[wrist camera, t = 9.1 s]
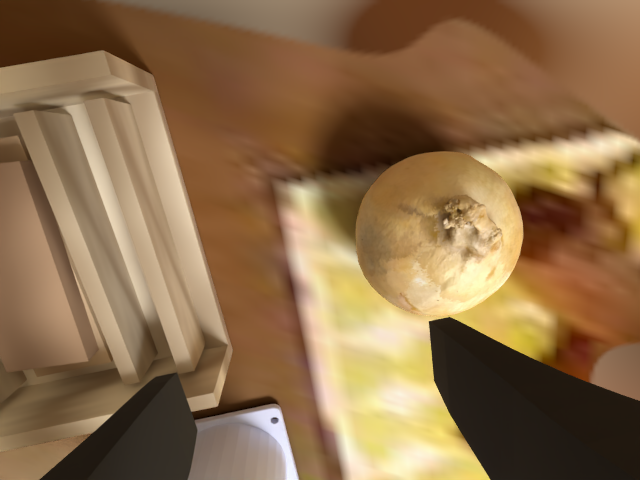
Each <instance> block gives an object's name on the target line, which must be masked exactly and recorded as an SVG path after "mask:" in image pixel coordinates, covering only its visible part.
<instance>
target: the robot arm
mask: <svg viewBox="0 0 640 480" xmlns="http://www.w3.org/2000/svg"><path fill="white" fill-rule="evenodd" d="M429 328H430V339H431V350H432V361H433V372H434V381H435V383H436V385H437V388H438V390H439V392H440V394H441V396H442V398H443V401H444V403H445V405H446V407H447V409H448V411H449V413H450V415H451V417H452V418H453V420H454V421H455V423H456V425H457V426H458V428H459V430H460V431H461V433H462V434H463V436H464V438H465V439H466V441H467V443H468V444H469V446H470V447H471V449H472V451H473V452H474V454H475V455H476V457H477V459H478V460H479V462H480V463H481V465H482V467H483V468H484V470H485V471H486V473H487V475H488V476H489V478H490V479H491V480H640V401H638V400H635V399H632V398H629V397H626V396H623V395H621V394H618V393H615V392H612V391H610V390H607V389H604V388H602V387H599V386H597V385H594V384H591V383H589V382H586V381H583V380H581V379H578V378H576V377H573V376H571V375H568V374H566V373H564V372H561V371H559V370H557V369H555V368H552V367H550V366H548V365H546V364H543V363H541V362H539V361H537V360H534V359H532V358H530V357H528V356H526V355H524V354H522V353H520V352H518V351H516V350H514V349H512V348H510V347H508V346H506V345H504V344H502V343H500V342H498V341H496V340H494V339H492V338H490V337H488V336H486V335H484V334H482V333H480V332H478V331H476V330H475V329H473V328H471V327H469V326H467V325H465V324H463V323H461V322H459V321H457V320H455V319H453V318H451V317H448V318H443V319H438V320H433V321H429ZM273 417H277V419H272V418H273ZM40 480H299V477H298V474H297V470H296V466H295V462H294V458H293V454H292V450H291V446H290V442H289V439H288V435H287V431H286V427H285V423H284V419H283V415H282V411H281V408H280V406H279V405H277V404H269V405H264V406H259V407H255V408H250V409H245V410H240V411H236V412H231V413H226V414H222V415H217V416H212V417H207V418H203V419H198V420H194V418H193V415H192V412H191V410H190V407H189V404H188V401H187V398H186V396H185V393H184V390H183V387H182V384H181V382H180V379H179V376H178V373H177V372H176V373H171V374H166V375H161V376H156V377H154V378H153V379H152V380H151V381H149V382H148V383H147V384H146V385H145V386H144V387H142V388H141V389H140V390H139V391H138V392H137V393H136V394H135V395H133V396H132V397H131V398H130V399H129V400H128V401H127V402H126V403H125V404H124V405H123V406H122V407H120V408H119V409H118V410H117V411H116V412H115V413H114V414H113V415H112V416H111V417H110V418H109V419H107V420H106V421H105V422H104V423H103V424H102V425H101V426H100V427H99V428H98V429H97V430H96V431H94V432H93V433H92V434H91V435H90V436H89V437H88V438H87V439H86V440H85V441H83V442H82V443H81V444H80V445H79V446H78V447H76V448H75V449H74V450H73V451H72V452H71V453H70V454H68V455H67V456H66V457H65V458H64V459H63V460H62V461H60V462H59V463H58V464H57V465H56V466H55V467H53V468H52V469H51V470H50V471H49V472H48V473H47V474H45V475H44V476H43V477H42V478H41V479H40Z"/></svg>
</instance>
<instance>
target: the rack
mask: <svg viewBox="0 0 640 480" xmlns="http://www.w3.org/2000/svg"><path fill="white" fill-rule="evenodd" d="M17 135H21V136H22V137H23V139H24V142H25V144H26V147H27V149H28V152H29V154H30V156H31V159H32V161H33V164H34V166H35V169H36V171H37V174H38V176H39V178H40V181H41V183H42V186H43V188H44V191H45V193H46V195H47V198H48V200H49V203H50V205H51V208H52V210H53V213H54V215H55V217H56V220H57V222H58V225H59V227H60V230H61V232H62V235H63V237H64V239H65V242H66V244H67V247H68V249H69V252H70V254H71V257H72V259H73V261H74V264H75V266H76V269H77V271H78V274H79V276H80V279H81V281H82V283H83V286H84V288H85V291H86V293H87V296H88V298H89V300H90V303H91V305H92V308H93V310H94V313H95V315H96V318H97V320H98V322H99V325H100V327H101V330H102V332H103V335H104V337H105V340H106V342H107V344H108V347H109V349H110V352H111V354H112V357H113V360H112V362H109V363H104V364H99V365H94V366H89V367H84V368H80V369H75V370H70V371H65V372H60V373H55V374H50V375H45V376H40V377H37V376H36V374H35V372H34V370H33V369H29V370H22V371H15V372H8V373H7V372H6V370H5V367H4V365H3V363H2V360H1V358H0V452H3V451H8V450H13V449H18V448H22V447H27V446H32V445H37V444H41V443H46V442H51V441H56V440H60V439H65V438H70V437H75V436H79V435H84V434H89V433H93V432H94V431H96V430H97V429H98V428H99V427H100V426H101V425H102V424H103V423H104V422H105V421H106V420H107V419H109V418H110V417H111V416H112V415H113V414H114V413H115V412H116V411H117V410H118V409H119V408H120V407H122V406H123V405H124V404H125V403H126V402H127V401H128V400H129V399H130V398H131V397H132V396H133V395H135V394H136V393H137V392H138V391H139V390H140V389H141V388H142V387H144V386H145V385H146V384H147V383H148V382H149V381H151V380H152V379H153V378H154V377H156V376H161V375H166V374H171V373H176V372H177V373H178V376H179V379H180V382H181V384H182V387H183V390H184V393H185V396H186V398H187V401H188V404H189V407H190V410H191V412H193V411H198V410H203V409H208V408H212V407H217V406H218V404H219V400H220V397H221V393H222V389H223V385H224V382H225V378H226V374H227V371H228V367H229V363H230V359H231V356H232V352H233V350H232V346H231V343H230V339H229V336H228V332H227V329H226V325H225V322H224V318H223V315H222V311H221V308H220V305H219V301H218V298H217V294H216V291H215V287H214V284H213V280H212V277H211V273H210V270H209V267H208V263H207V260H206V256H205V253H204V249H203V246H202V242H201V239H200V235H199V232H198V229H197V225H196V222H195V218H194V215H193V211H192V208H191V204H190V201H189V197H188V194H187V191H186V187H185V184H184V180H183V177H182V173H181V170H180V166H179V163H178V159H177V156H176V152H175V149H174V146H173V142H172V139H171V135H170V132H169V128H168V125H167V121H166V118H165V114H164V111H163V108H162V104H161V101H160V97H159V94H158V90H157V87H156V83H155V80H154V76H153V75H152V74H150V73H148V72H146V71H144V70H142V69H140V68H138V67H136V66H134V65H132V64H130V63H128V62H126V61H124V60H122V59H120V58H118V57H116V56H114V55H112V54H110V53H108V52H106V51H104V50H102V51H96V52H90V53H84V54H78V55H73V56H67V57H61V58H55V59H49V60H43V61H37V62H32V63H26V64H20V65H14V66H8V67H2V68H0V138H6V137H11V136H17Z"/></svg>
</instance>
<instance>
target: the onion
mask: <svg viewBox="0 0 640 480" xmlns="http://www.w3.org/2000/svg"><path fill="white" fill-rule="evenodd" d="M522 240H523V222H522V217H521V213H520V209H519V207H518V205H517V203H516V200H515V198H514V196H513V194H512V191H511V190H510V188H509V186H508V185H507V184H506V182H505V181H504V180H503V179H502V177H501V176H500V175H498V174H497V173H496V172H495V171H493V170H492V169H490V168H489V167H487V166H486V165H484V164H482V163H480V162H479V161H477V160H475V159H474V158H473V157H471V156H469V155H467V154H464V153H460V152H448V151H445V152H444V151H442V152H429V153H423V154H418V155H414V156H411V157H409V158H406V159H404V160H402V161H400V162H398V163H396V164H394V165H392V166H391V167H390V168H388V169H387V170H386V171H384V172H383V173H382V174H381V175H380V176H379V177H378V178H377V180H376V181H375V182H374V183H373V184H372V186H371V187H370V188H369V189H368V191H367V193H366V194H365V196H364V198H363V200H362V202H361V205H360V208H359V212H358V215H357V221H356V249H357V255H358V262H359V265H360V267H361V269H362V271H363V274H364V276H365V278H366V279H367V280H368V282H369V283H370V285H371V286H372V287H373V288H374V289H375V290H376V291H377V292H378V293H379V294H380V295H381V296H382V297H384V298H385V299H386V300H387V301H389V302H390V303H392V304H393V305H395V306H397V307H399V308H401V309H403V310H405V311H408V312H411V313H414V314H418V315H425V316H446V315H452V314H457V313H460V312H462V311H465V310H467V309H470V308H472V307H474V306H476V305H477V304H479V303H481V302H482V301H484V300H485V299H486V298H488V297H489V296H490V295H492V294H493V293H494V292H496V291H497V290H498V289H499V288H500V287H501V286H502V285H503V284H504V283H505V282H506V280H507V279H508V277H509V276H510V274H511V272H512V270H513V269H514V267H515V265H516V262H517V260H518V258H519V255H520V250H521V246H522Z"/></svg>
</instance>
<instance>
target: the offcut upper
mask: <svg viewBox="0 0 640 480" xmlns="http://www.w3.org/2000/svg"><path fill="white" fill-rule="evenodd" d="M98 350H99V348H98V345H97V342H96V339H95V336H94V333H93V330H92V327H91V324H90V321H89V318H88V315H87V312H86V309H85V306H84V303H83V300H82V297H81V294H80V291H79V288H78V285H77V282H76V279H75V276H74V273H73V270H72V267H71V264H70V261H69V258H68V255H67V252H66V249H65V246H64V243H63V240H62V237H61V234H60V231H59V228H58V225H57V222H56V219H55V216H54V213H53V210H52V208H51V205H50V203H49V200H48V198H47V195H46V193H45V191H44V188H43V186H42V183H41V181H40V178H39V176H38V174H37V171H36V169H35V166H34V164H33V161H32V160H30V161H17V162H7V163H0V358H1V360H2V363H3V365H4V367H5V370H6V372H7V373H8V372H15V371H22V370H29V369H36V368H43V367H50V366H58V365H65V364H72V363H79V362H86V361H89V360H90V359H91V358H92V357H93V356H94V355H95V354H96V352H97V351H98Z"/></svg>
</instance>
